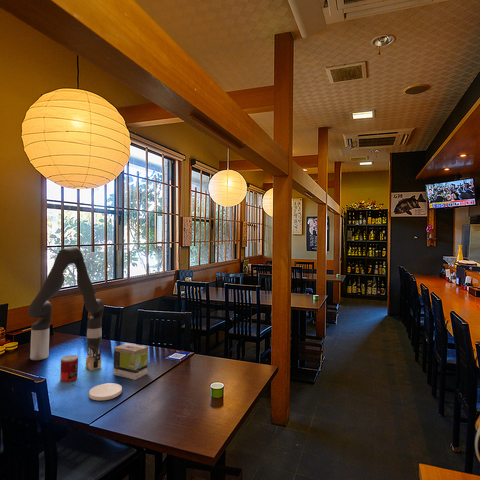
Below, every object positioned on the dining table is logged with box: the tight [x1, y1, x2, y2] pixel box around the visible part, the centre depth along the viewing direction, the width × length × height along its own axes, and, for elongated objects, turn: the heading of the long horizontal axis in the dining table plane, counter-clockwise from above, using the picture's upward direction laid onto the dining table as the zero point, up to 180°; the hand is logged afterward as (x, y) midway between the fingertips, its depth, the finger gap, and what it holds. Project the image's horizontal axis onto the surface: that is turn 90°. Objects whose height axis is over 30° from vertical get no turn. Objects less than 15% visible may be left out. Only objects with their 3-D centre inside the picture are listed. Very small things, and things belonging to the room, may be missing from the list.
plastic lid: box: [88, 382, 123, 401], centre depth 149 cm, size 14×14×2 cm
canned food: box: [59, 354, 79, 383], centre depth 164 cm, size 8×8×11 cm
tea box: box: [113, 342, 149, 381], centre depth 173 cm, size 15×10×15 cm
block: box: [85, 355, 102, 371], centre depth 181 cm, size 6×6×6 cm
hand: (93, 365), depth 181 cm, fingers closed on block, 6 cm apart
